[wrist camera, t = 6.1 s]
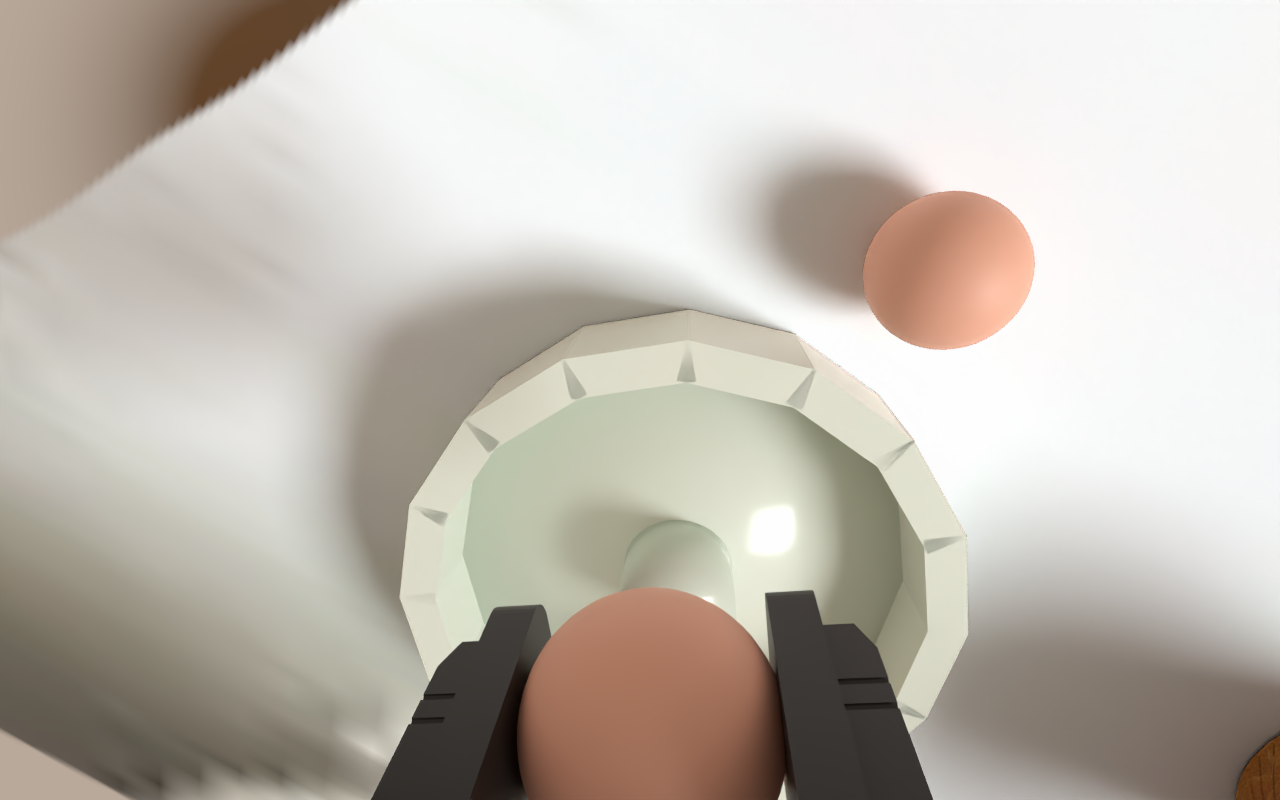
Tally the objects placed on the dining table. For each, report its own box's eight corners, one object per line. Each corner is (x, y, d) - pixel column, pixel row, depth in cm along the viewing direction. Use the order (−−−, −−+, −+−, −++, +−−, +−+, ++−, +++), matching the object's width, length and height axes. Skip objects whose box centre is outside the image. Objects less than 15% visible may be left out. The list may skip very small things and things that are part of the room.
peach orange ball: (960, 342, 18) (1023, 385, 14) (830, 311, 18) (861, 348, 14) (1016, 205, 16) (1099, 218, 13) (875, 172, 16) (922, 177, 13)
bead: (765, 530, 10) (802, 728, 6) (778, 717, 11) (815, 964, 8) (529, 545, 10) (448, 740, 7) (567, 724, 11) (514, 963, 8)
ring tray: (835, 772, 23) (855, 862, 20) (422, 677, 23) (382, 754, 20) (1007, 382, 18) (1070, 428, 15) (476, 259, 18) (432, 279, 15)
